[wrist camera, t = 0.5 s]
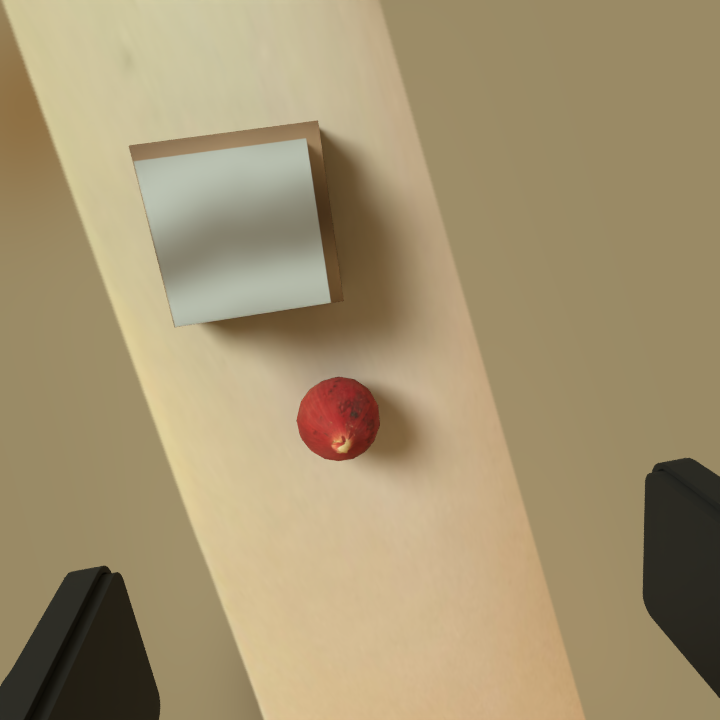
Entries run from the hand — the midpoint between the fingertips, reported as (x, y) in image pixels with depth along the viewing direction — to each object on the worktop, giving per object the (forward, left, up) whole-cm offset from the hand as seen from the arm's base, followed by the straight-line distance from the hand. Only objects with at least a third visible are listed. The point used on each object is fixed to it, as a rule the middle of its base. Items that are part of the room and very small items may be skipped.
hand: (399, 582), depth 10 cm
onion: (+10, 0, -33) cm, 34 cm away
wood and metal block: (-4, -4, -32) cm, 33 cm away
